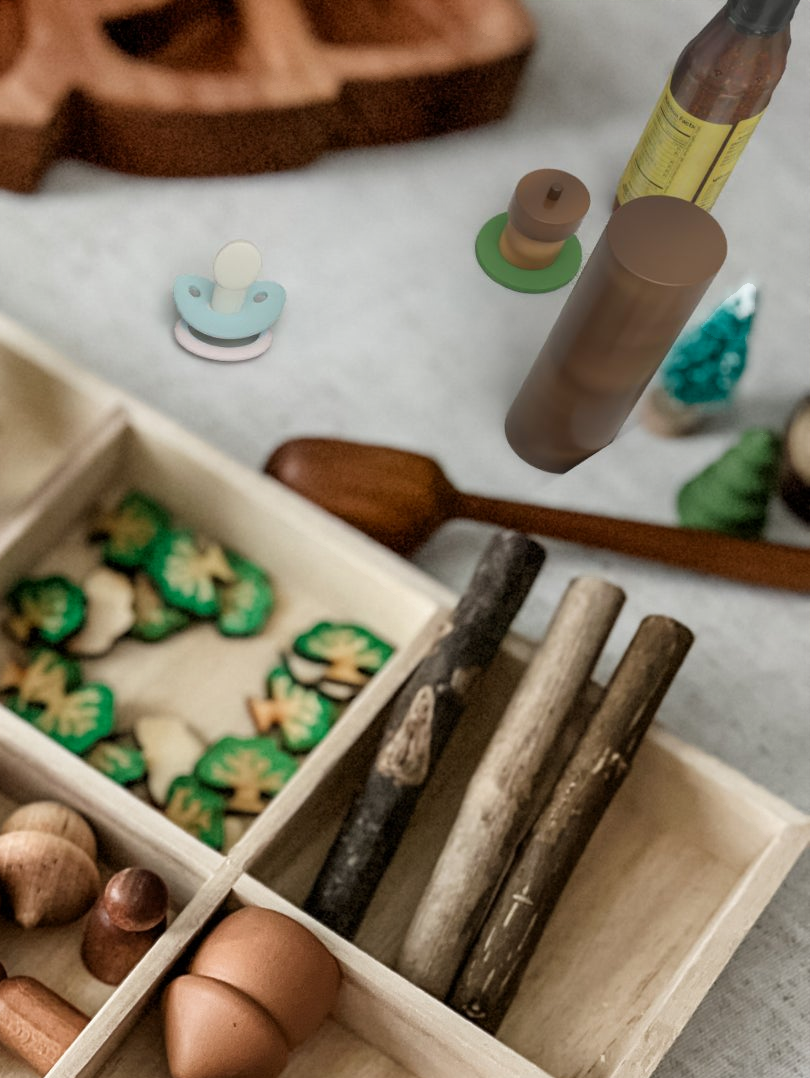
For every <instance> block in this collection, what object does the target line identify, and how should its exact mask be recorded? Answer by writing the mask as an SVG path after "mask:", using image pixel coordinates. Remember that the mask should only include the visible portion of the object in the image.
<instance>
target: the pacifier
mask: <svg viewBox="0 0 810 1078" xmlns="http://www.w3.org/2000/svg"><path fill="white" fill-rule="evenodd" d="M262 266H263V260H262V255H261V253H260V250H259V249H258V247H257V245H255V244H254V243H253V242H252V241H249V240H247V239H243V238H242V239H241V238H240V239H234V240H231V241H229V242H227V243H226V244H224V245H223V246H222V247H221V248H220V250H219V251H218V252H217V254H216V256H215V258H214V262H213V268H212V274H213V277H214V280H215V282H214V281H212V280H210V279H208V278H206V277H204V276H200V275H198V274H191V273H187V274H181V275H179V276H177V277H176V279H175V281H174V283H173V286H172V296H173V300H174V303H175V307H176V309H177V311H178V313H179V314H180V316H181V317H180V319H179V320H178V321H176V323H175V325H174V328H173V331H174V332H173V333H174V337H175V339H176V340H177V342H178V343H179V344H180V346H182V347H183V349H185V350H187V351H188V352H190V353H192V354H194V355H196V356H198V357H201V358H204V359H208V360H215V361H220V362H239V361H245V360H250V359H253V358H256V357H258V356H260V355H261V354H264V353H265V352H266V351H267V350H268V349H269V348H270V347H271V345H272V342H273V334H272V331H271V329H270V328H269V327H271V326H272V325H274V323H275V322H276V321H277V319H278V318H279V317H280V316H281V314H282V312H283V310H284V307H285V305H286V301H287V292H286V289H285V287H284V286H283V285H281V284H280V283H278V282H276V281H270V280H257V279H258V277H259V275H260V273H261V271H262ZM256 280H257V281H256ZM191 289H192V290H195V291H196V292H197V293H198V295H199V296H193V294H191V292H190V290H191ZM258 296H264V297H266V298H265V299H264V300H263V301H259V302H256V301H255V300H254V299H255V298H256V297H258ZM190 327H192V328H193V329H195V330H196V331H198V332H200V333H202V334H204V335H206V336H209V337H213V338H215V339H216V338H217V339H224V340H239V339H245V338H249V337H251V336H255V335H257V339H256V340H254V341H253V342H251V343H249V344H246V345H242V346H235V347H221V346H217V345H212V344H209V343H206V342H204V341H201V339H198V338H197V337H195V336H194V335H193V334H192V333H191V331H190V329H189V328H190Z"/></svg>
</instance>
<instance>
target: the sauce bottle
mask: <svg viewBox="0 0 810 1078" xmlns="http://www.w3.org/2000/svg"><path fill="white" fill-rule="evenodd" d="M800 1H801V0H727V1H726V2H725V4H724V5H723V6H722V7H721V9H720V10H718V11H717V13H716V14H715V15H714V16H713V17H712V18H711V19H710V21H709V22H708V23H707V24H706V25H705V26H704V27H703V28H702V29H701V30H700V31H699V32H698V33H697V34H696V35H695V36H694V37H693V38H692V39H691V40H690V41H689V42H688V43H687V44H686V45H685V46H684V48H683V49H682V51H681V53H680V54H679V56H678V57H677V60H676V61H675V64H674V66H673V68H672V70H671V72H670V74H669V76H668V79H667V80H666V82H665V85H664V87H663V89H662V92H661V94H660V95H659V98H658V100H657V102H656V104H655V106H654V109H653V110H652V113H651V114H650V116H649V118H648V121H647V123H646V125H645V127H644V129H643V131H642V134H641V135H640V137H639V139H638V141H637V144H636V146H635V148H634V149H633V152H632V153H631V156H630V158H629V160H628V162H627V164H626V167H625V168H624V170H623V172H622V175H621V177H620V179H619V181H618V184H617V189H616V190H617V191H616V194H615V197H614V200H613V208H612V213H614V212H615V211H616V210H617V209H618V208H619V207H620V206H622V205H623V204H624V203H626V202H628V201H630V200H633V199H635V198H639V197H643V196H649V195H666V196H672V197H677V198H681V199H684V200H686V201H689V202H691V203H693V204H696V205H697V206H699V207H701V208H702V209H704V210H705V211H707V212H708V213H709V214H710V212H711V211H712V209H713V207H714V206H715V203H716V202H717V200H718V198H719V196H720V195H721V193H722V191H723V189H724V187H725V185H726V183H727V182H728V180H729V178H730V176H731V175H732V173H733V171H734V169H735V167H736V165H737V163H738V162H739V159H740V158H741V156H742V154H743V152H744V150H745V149H746V146H747V145H748V143H749V141H750V139H751V137H752V136H753V134H754V132H755V131H756V128H757V127H758V125H759V123H760V121H761V120H762V118H763V116H764V114H765V112H766V110H767V108H768V107H769V105H770V102H771V100H772V97H773V93H774V91H775V90H776V88H777V86H778V85H779V83H780V81H781V79H783V78H782V77H783V75H784V73H785V71H786V69H787V63H788V54H789V52H790V49H791V45H792V37H791V36H792V35H791V22H792V20H793V19H794V16H795V13H796V9H797V8H798V6H799V5H800Z"/></svg>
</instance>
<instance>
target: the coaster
mask: <svg viewBox="0 0 810 1078" xmlns="http://www.w3.org/2000/svg"><path fill="white" fill-rule="evenodd" d="M508 219H509V218H508V212H507V211H504V212H501V213H499V214H496V215H495V216H493V217H492V218H490V219H488V221H486V222H485V223H484V225H483V226H482V227H481V229H480V230H479V233H478V234H477V236H476V240H475V248H474V250H475V256H476V259H477V262H478V264H479V266H480V267H481V268H482V270H483V271H484V272H485V273H486V274H487V276H488V277H490V278H491V279H492V280H493V281H494V282H496V283H497V284H499V285H501V286H503V287H505V288H507V289H510V290H512V291H516V292H520V293H526V294H543V293H549V292H553V291H557V290H558V289H561V288H562V287H564V286H566V285H567V284H569V283H570V282H571V281H572V280H573V279H574V278H575V276H576V275H577V273H578V272H579V269H580V268H581V265H582V261H583V250H582V245H581V242H580V241H579V238H578V237H577V235H576V233H575V234H574V235H572V236H571V237H570V238H568V239H566V241H565V243H564V245H563V247H562V249H561V251H560V253H559V255H558V257H557V259H556V260H555V262H554V263H553V264H551V265H550V266H548V267H546V268H544V269H540V270H524V269H521V268H518V267H515V266H513V265H512V264H510V263H509V262H508V261H506V260H505V259H504V257H503V256H502V254H501V252H500V250H499V239H500V237H501V234H502V232H503V230H504V228H505V226H506V223H507V221H508Z"/></svg>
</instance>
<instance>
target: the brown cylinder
mask: <svg viewBox="0 0 810 1078" xmlns="http://www.w3.org/2000/svg"><path fill="white" fill-rule="evenodd" d="M727 255H728V239H727V237H726V234H725V231H724V230H723V228H722V226H721V225H720V223H719V222H718V221H717V220H716V219H715V217H713V216H712V215H711V214H710V212H709V213H708V212H707V211H705V210H704V209H702V208H701V207H699V206H697V205H696V204H693V203H691V202H689V201H686V200H684V199H681V198H677V197H672V196H666V195H649V196H643V197H639V198H635V199H633V200H630V201H628V202H626V203H624V204H623V205H622V206H620V207H619V208H618V209H617V210H616V211H615V212H612V215H610V217H609V219H608V221H607V222H606V225H605V226H604V229H603V231H602V232H601V234H600V236H599V238H598V240H597V242H596V244H595V245H594V248H593V250H592V252H591V253H590V255H589V257H588V259H587V261H586V263H585V265H584V267H583V268H582V271H581V273H580V275H579V276H578V278H577V280H576V282H575V284H574V286H573V288H572V289H571V292H570V293H569V296H568V297H567V298H566V299H567V300H566V301H565V303H564V305H563V307H562V309H561V311H560V312H559V314H558V316H557V318H556V320H555V322H554V324H553V326H552V328H551V330H550V331H549V334H548V335H547V337H546V339H545V341H544V343H543V344H542V347H541V348H540V351H539V352H538V354H537V356H536V358H535V360H534V362H533V364H532V366H531V367H530V369H529V371H528V374H527V375H526V377H525V379H524V380H523V383H522V385H521V387H520V389H519V391H518V393H517V395H516V397H515V398H514V400H513V402H512V404H511V406H510V408H509V410H508V412H507V414H506V417H505V420H504V421H505V422H504V431H505V436H506V438H507V441H508V443H509V445H510V447H511V448H512V450H513V452H515V453H516V455H518V457H519V458H521V459H522V460H523V461H525V463H528V464H529V465H531V466H532V467H534V468H537V469H540V470H542V471H544V472H548V473H554V474H567V473H568V472H570V471H571V470H573V469H574V468H576V467H577V466H579V465H581V464H582V463H584V462H585V461H586V460H589V459H590V458H592V456H594V455H596V454H597V453H599V452H601V451H602V450H604V449H605V448H606V447H607V446H609V445H611V444H612V443H613V442H614V440H615V439H616V437H617V436H618V434H619V432H620V431H621V429H622V427H623V426H624V424H625V422H626V421H627V420H628V418H629V417H630V415H631V413H632V412H633V410H634V408H635V407H636V406H637V404H638V402H639V400H640V399H641V397H642V396H643V393H644V392H645V391H646V389H647V387H648V386H649V384H650V383H651V381H652V380H653V378H654V376H655V375H656V373H657V371H658V370H659V368H660V367H661V365H662V364H663V362H664V360H665V359H666V357H667V355H668V354H669V352H670V350H671V349H672V347H673V346H674V344H675V343H676V341H677V339H678V338H679V336H680V334H681V333H682V332H683V329H684V328H685V326H686V325H687V323H688V322H689V320H690V319H691V317H692V315H693V313H694V312H695V311H696V309H697V307H698V305H699V304H700V303H701V301H702V299H703V298H704V296H705V294H706V293H707V291H708V290H709V288H710V287H711V285H712V283H713V281H714V280H715V279H716V277H717V275H718V273H719V272H720V270H721V269H722V267H723V266H724V264H725V261H726V259H727Z"/></svg>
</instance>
